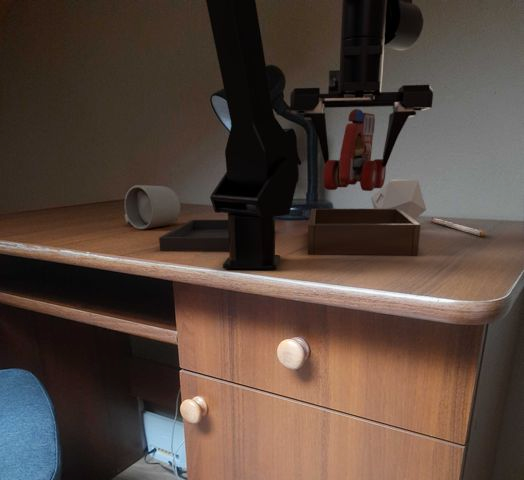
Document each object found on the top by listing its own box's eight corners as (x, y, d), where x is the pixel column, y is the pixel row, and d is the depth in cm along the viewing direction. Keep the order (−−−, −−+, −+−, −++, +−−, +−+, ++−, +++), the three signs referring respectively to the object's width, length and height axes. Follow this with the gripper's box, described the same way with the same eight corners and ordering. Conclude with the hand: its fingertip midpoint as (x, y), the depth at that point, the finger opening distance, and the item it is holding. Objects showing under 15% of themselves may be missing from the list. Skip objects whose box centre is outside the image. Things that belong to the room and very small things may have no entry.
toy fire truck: (317, 191, 68) (319, 108, 65) (343, 186, 79) (347, 113, 75) (366, 193, 66) (372, 106, 62) (387, 186, 76) (393, 112, 72)
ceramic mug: (185, 225, 95) (182, 183, 92) (154, 230, 88) (150, 185, 85) (146, 222, 100) (142, 182, 97) (114, 227, 94) (109, 185, 91)
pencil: (434, 221, 94) (435, 217, 94) (489, 237, 77) (490, 233, 77) (430, 221, 94) (431, 218, 94) (484, 237, 77) (485, 233, 77)
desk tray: (250, 251, 70) (250, 237, 69) (159, 250, 71) (158, 237, 70) (265, 230, 87) (265, 219, 87) (192, 230, 89) (191, 219, 88)
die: (376, 225, 96) (358, 184, 89) (419, 201, 94) (404, 157, 87) (391, 248, 89) (374, 206, 83) (438, 223, 87) (423, 177, 81)
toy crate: (417, 255, 66) (420, 224, 64) (307, 254, 67) (308, 224, 66) (398, 233, 83) (400, 208, 81) (310, 232, 84) (311, 208, 83)
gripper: (424, 50, 72) (412, 164, 77) (295, 54, 74) (294, 166, 79) (440, 33, 61) (426, 167, 67) (290, 39, 63) (289, 168, 69)
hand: (355, 167), depth 71 cm, fingers closed on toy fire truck, 8 cm apart
